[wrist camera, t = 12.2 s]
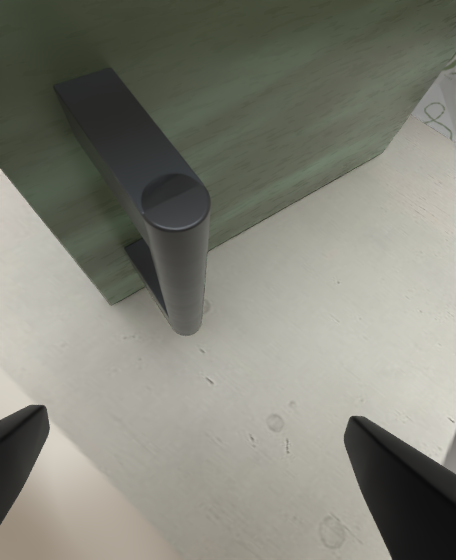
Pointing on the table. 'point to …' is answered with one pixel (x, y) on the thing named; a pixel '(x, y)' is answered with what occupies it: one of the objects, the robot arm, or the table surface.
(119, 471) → the table surface
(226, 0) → the green cabinet door
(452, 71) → the grocery bag
